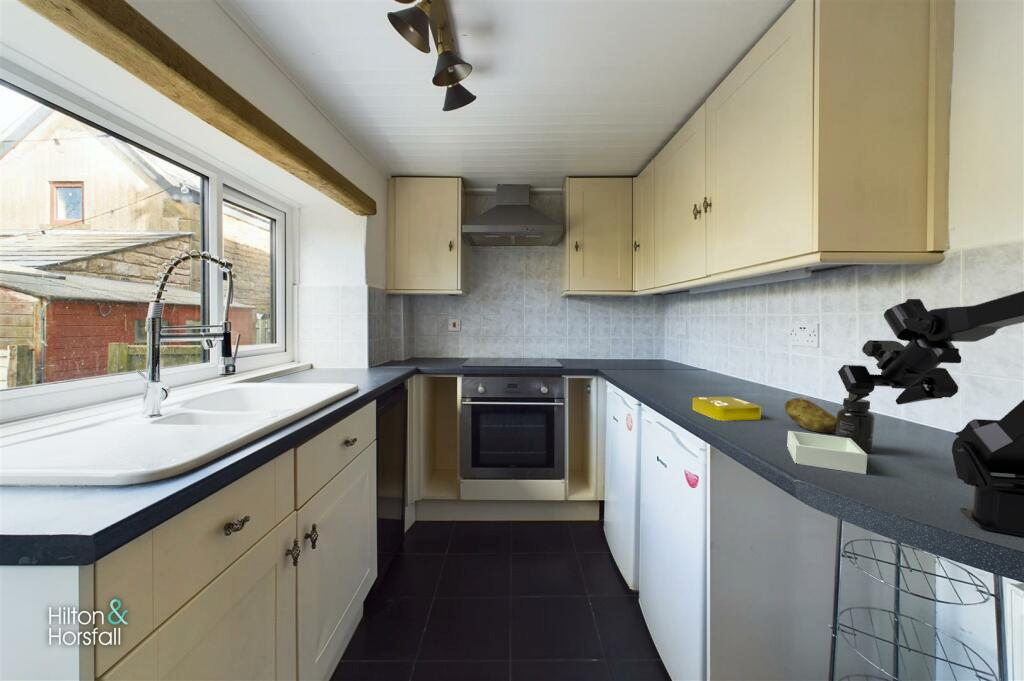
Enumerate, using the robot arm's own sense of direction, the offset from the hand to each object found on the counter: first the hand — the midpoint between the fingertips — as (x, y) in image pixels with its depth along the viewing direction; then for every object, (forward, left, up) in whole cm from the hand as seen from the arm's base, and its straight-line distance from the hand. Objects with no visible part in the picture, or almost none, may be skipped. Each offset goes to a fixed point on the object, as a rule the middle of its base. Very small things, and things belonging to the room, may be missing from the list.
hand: (873, 401), depth 89 cm
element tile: (+27, +28, -13) cm, 42 cm away
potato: (+20, +8, -13) cm, 25 cm away
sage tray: (-7, +10, -13) cm, 17 cm away
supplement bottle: (+5, +2, -13) cm, 14 cm away
